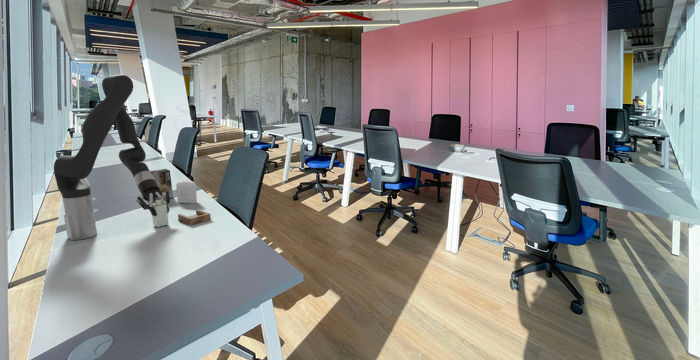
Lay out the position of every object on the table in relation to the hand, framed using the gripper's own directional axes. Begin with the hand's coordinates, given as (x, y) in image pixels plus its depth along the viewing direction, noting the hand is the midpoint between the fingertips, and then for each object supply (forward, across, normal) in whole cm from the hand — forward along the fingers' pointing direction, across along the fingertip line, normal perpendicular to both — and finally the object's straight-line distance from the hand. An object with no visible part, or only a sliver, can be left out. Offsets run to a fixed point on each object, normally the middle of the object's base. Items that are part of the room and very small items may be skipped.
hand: (161, 213), depth 159 cm
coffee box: (-30, +22, +38) cm, 53 cm away
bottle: (+2, 0, +5) cm, 6 cm away
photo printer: (-15, +26, +24) cm, 39 cm away
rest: (+6, +13, +2) cm, 15 cm away
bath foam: (-38, -12, +47) cm, 61 cm away
